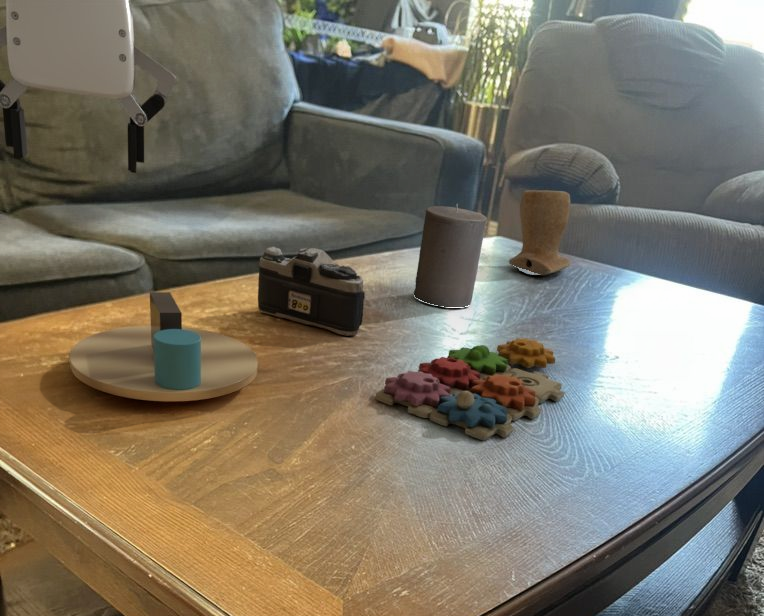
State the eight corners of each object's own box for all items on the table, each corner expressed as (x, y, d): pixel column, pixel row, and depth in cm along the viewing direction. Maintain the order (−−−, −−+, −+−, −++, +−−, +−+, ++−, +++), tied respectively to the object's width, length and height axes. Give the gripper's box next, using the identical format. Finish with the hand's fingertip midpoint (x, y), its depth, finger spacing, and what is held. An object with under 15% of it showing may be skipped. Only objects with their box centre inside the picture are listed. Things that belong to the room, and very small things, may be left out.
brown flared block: (521, 257, 162) (537, 180, 154) (575, 270, 157) (594, 192, 150) (491, 268, 151) (507, 186, 143) (548, 283, 146) (567, 198, 138)
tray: (63, 334, 90) (58, 273, 86) (234, 332, 98) (236, 276, 94) (77, 406, 75) (71, 336, 71) (278, 396, 82) (282, 333, 79)
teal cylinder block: (151, 373, 81) (150, 328, 79) (196, 372, 83) (196, 328, 80) (158, 391, 78) (157, 345, 75) (204, 389, 79) (205, 344, 77)
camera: (381, 323, 113) (389, 253, 108) (349, 341, 105) (357, 266, 100) (287, 298, 118) (291, 230, 113) (250, 313, 110) (252, 240, 104)
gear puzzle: (491, 342, 112) (497, 314, 109) (597, 376, 105) (605, 347, 103) (368, 400, 88) (372, 366, 86) (493, 448, 82) (500, 413, 79)
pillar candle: (400, 294, 127) (413, 197, 120) (442, 289, 133) (457, 196, 125) (442, 312, 121) (458, 212, 114) (484, 306, 127) (502, 210, 120)
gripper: (176, -40, 68) (174, 168, 77) (-42, -82, 63) (-19, 145, 72) (179, -45, 62) (176, 182, 71) (-63, -93, 57) (-35, 158, 66)
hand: (77, 163), depth 71 cm, fingers open, 9 cm apart
